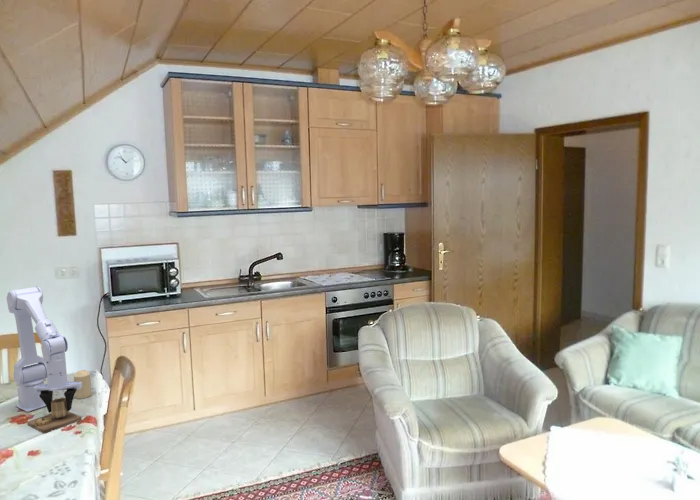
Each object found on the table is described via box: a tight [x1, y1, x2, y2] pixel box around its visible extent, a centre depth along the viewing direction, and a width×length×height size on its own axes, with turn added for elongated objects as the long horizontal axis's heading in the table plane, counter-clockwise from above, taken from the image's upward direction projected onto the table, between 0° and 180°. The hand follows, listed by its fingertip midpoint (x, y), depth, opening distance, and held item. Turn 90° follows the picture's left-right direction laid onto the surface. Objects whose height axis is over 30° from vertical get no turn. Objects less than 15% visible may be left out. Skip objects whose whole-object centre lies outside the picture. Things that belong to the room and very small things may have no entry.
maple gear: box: [51, 397, 70, 418], centre depth 172 cm, size 5×5×5 cm
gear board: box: [26, 411, 83, 434], centre depth 171 cm, size 12×12×5 cm
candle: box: [73, 369, 92, 400], centre depth 193 cm, size 6×6×10 cm
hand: (60, 410), depth 172 cm, fingers closed on maple gear, 5 cm apart
